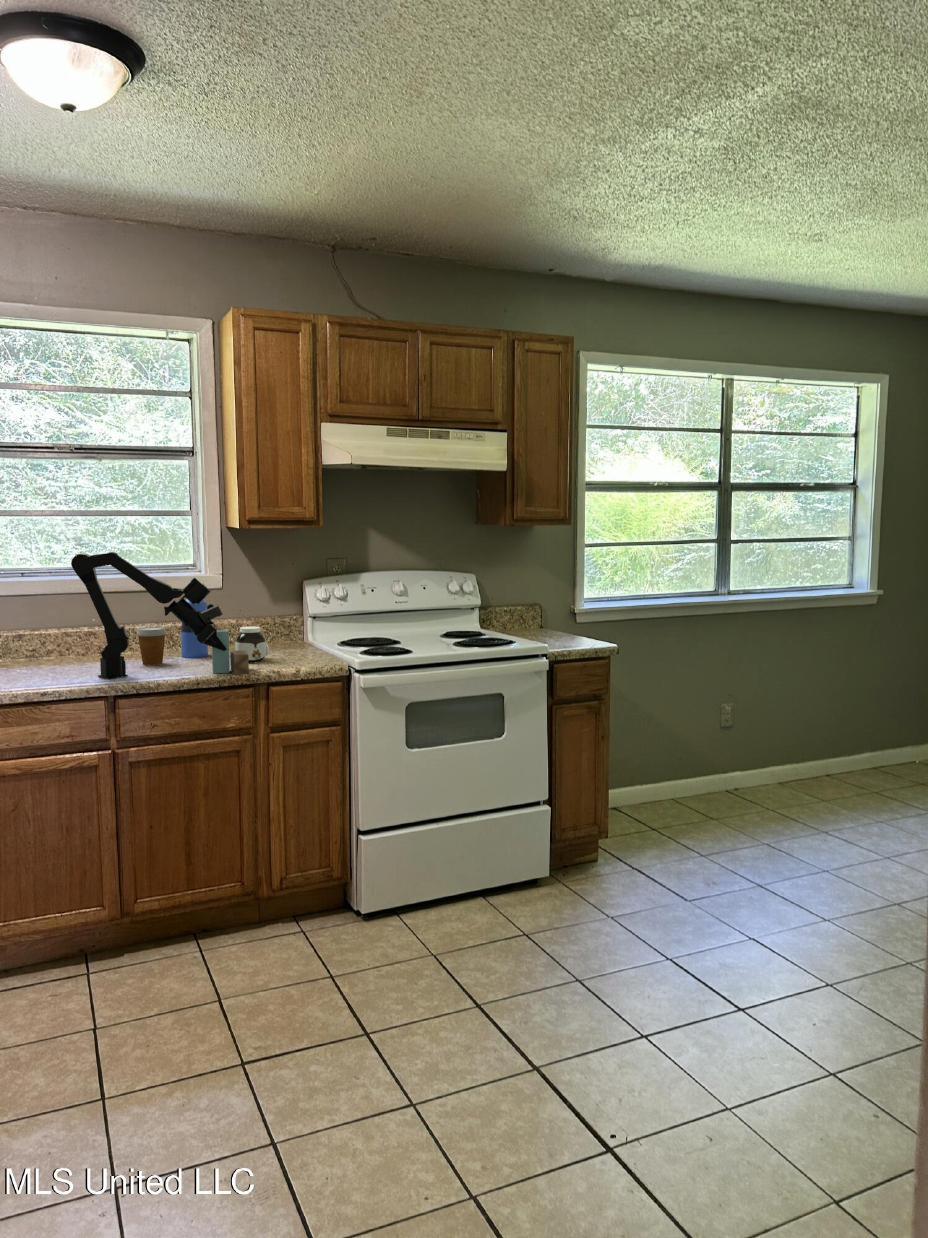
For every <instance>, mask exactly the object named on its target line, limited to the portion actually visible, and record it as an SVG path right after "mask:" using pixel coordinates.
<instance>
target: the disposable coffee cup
mask: <svg viewBox="0 0 928 1238" xmlns="http://www.w3.org/2000/svg"><path fill="white" fill-rule="evenodd" d="M167 632H168V631H167V630H166V627H164V626H145V627H138V628H137V631H136V636H137V638H138V642H139V643H138V644H139V650H140V654H141V655H140V656H141V661H142V665H144V666H158V665H163V662H164V651H165V641H166V635H167Z"/></svg>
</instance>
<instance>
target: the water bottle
mask: <svg viewBox="0 0 928 1238" xmlns="http://www.w3.org/2000/svg"><path fill="white" fill-rule="evenodd" d="M185 600H186V601H187V602H188V603H189V604H190V605H191V606H192V607H194V608H195V609H196V610H199V611H200V612H203V611H205V610H207V605H208V602H207V601H205V600H204V599H203V600H202V601H201V602H200V603H199V604H197V603H196V604H194V605H193V604H192V603H191V602H190V601H189V600H188V599H187V598H185ZM180 629H181V630H180V645H181V646H180V647H181V648H180V649H181V651H180V652H181V658H184V659H200V658H201V659H202V658H207V657H209V645H206V644H203V643H202V644H201V643H200V642H199V641H198V640H197V636H196V635H195V634H194V632H193V631H191V630H190V629H189V628H188V627H186V626H185V625H184V623H182V622H181V628H180Z"/></svg>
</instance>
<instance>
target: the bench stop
mask: <svg viewBox="0 0 928 1238" xmlns="http://www.w3.org/2000/svg"><path fill="white" fill-rule="evenodd" d="M229 659H230V670H231V675H245V674H246V675H247V674H250V673H249V672H250V668H249V667H250V665H249V664H250V663H249V659H248V653H247V651H246V650H237V651H236V650H232V651H229Z"/></svg>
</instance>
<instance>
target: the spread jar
mask: <svg viewBox="0 0 928 1238" xmlns="http://www.w3.org/2000/svg"><path fill="white" fill-rule="evenodd" d="M261 630H262V629H261V626H252V625H251V626H240V628H239V632H240V633H239V634H238V635H237V636H236V639H235V648H234V649H235V650H234V651H237V650H246V651H247V653H248V659H249V664H256V663H255V662H257V663H261V662H262V661H263V660H264V659H265V657H266V656H268V653H269V652H270V647H269V645H268V643H267V641H266V638H265V636H264V635H263V633H261Z"/></svg>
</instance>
